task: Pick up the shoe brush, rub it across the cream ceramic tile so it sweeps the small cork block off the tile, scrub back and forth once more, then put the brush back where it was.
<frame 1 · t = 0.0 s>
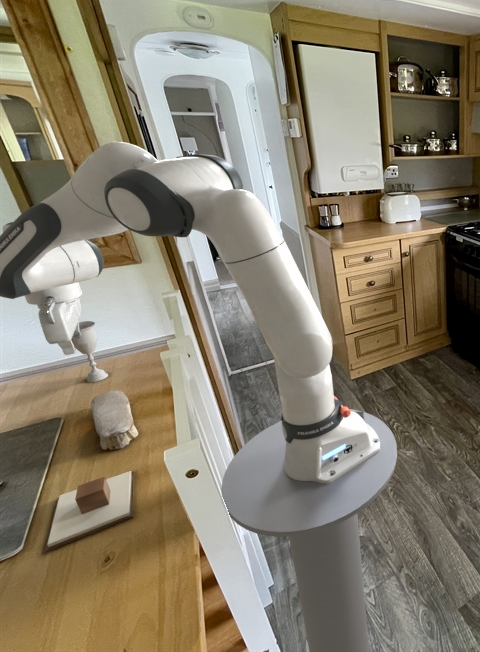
hand: (73, 345, 90), 24 cm above the table, tool pointing down, fingers open, 8 cm apart
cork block: (96, 502, 76), point 1 cm above the table, touching tile
tile: (95, 508, 76), on the table
chalice: (97, 378, 119), on the table
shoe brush: (117, 425, 99), on the table
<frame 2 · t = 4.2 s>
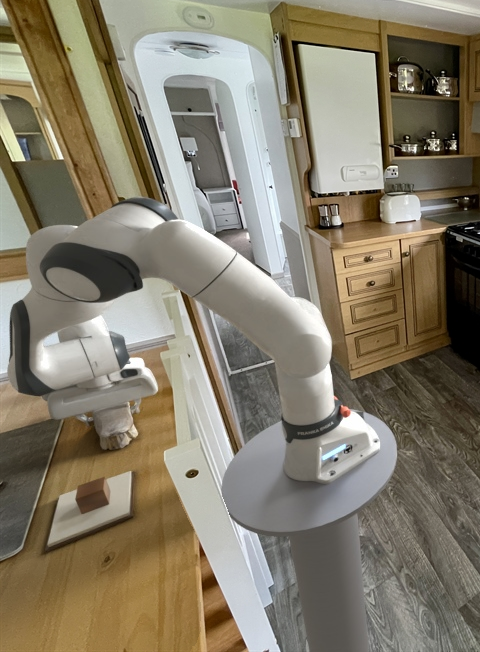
hand: (114, 418, 98), 2 cm above the table, tool pointing down, fingers closed on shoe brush, 7 cm apart
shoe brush: (117, 425, 99), on the table, touching gripper
everything else where it was.
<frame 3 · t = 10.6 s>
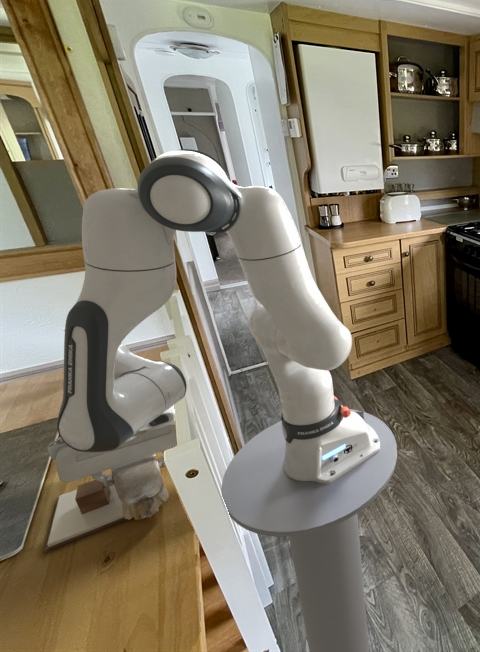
hand: (138, 474, 79), 4 cm above the table, tool pointing down, fingers closed on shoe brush, 7 cm apart
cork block: (96, 502, 76), point 1 cm above the table, touching gripper, tile
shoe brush: (141, 482, 80), point 2 cm above the table, touching gripper
everything else where it was.
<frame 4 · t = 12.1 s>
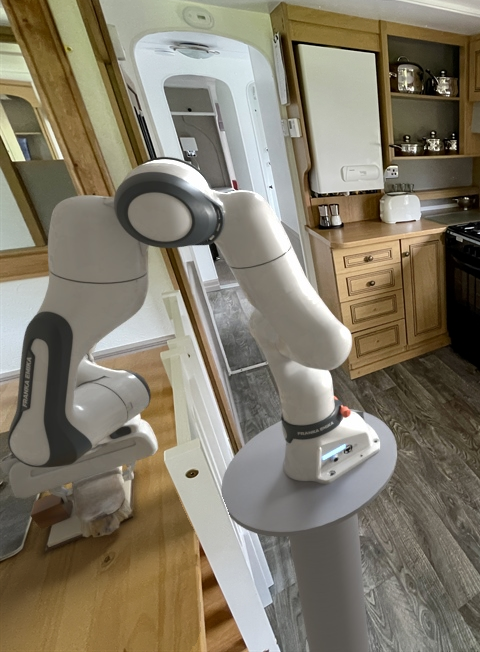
hand: (101, 488, 76), 4 cm above the table, tool pointing down, fingers closed on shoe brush, 7 cm apart
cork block: (57, 516, 73), point 1 cm above the table, tilted 6°, touching tile
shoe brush: (104, 496, 77), point 2 cm above the table, touching gripper
everything else where it was.
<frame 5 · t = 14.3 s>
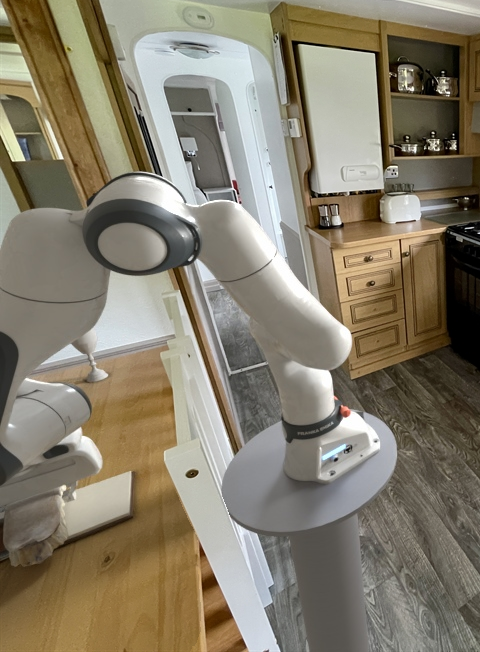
hand: (38, 510, 71), 4 cm above the table, tool pointing down, fingers closed on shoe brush, 7 cm apart
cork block: (14, 528, 69), point 2 cm above the table, tilted 95°, touching gripper, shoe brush
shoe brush: (43, 518, 71), point 2 cm above the table, touching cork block, gripper
everything else where it was.
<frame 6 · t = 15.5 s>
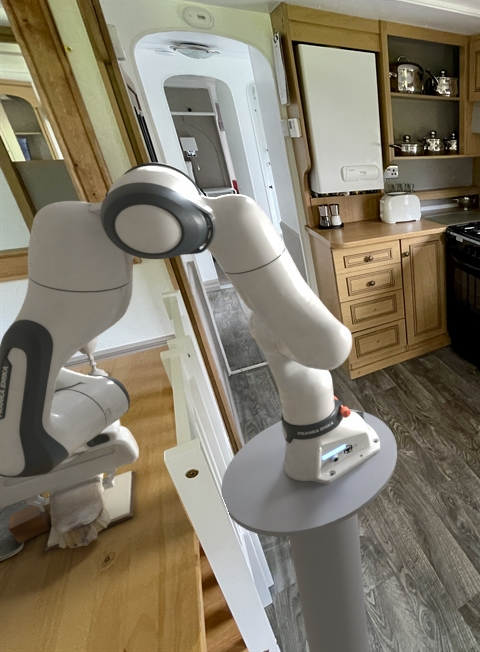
hand: (80, 497, 74), 4 cm above the table, tool pointing down, fingers closed on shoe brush, 7 cm apart
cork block: (35, 529, 71), on the table, touching gripper
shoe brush: (84, 504, 75), point 2 cm above the table, touching gripper
everything else where it was.
when the fingers open (2 cm above the table, at t = 24.9 s): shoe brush stays where it is, on the table.
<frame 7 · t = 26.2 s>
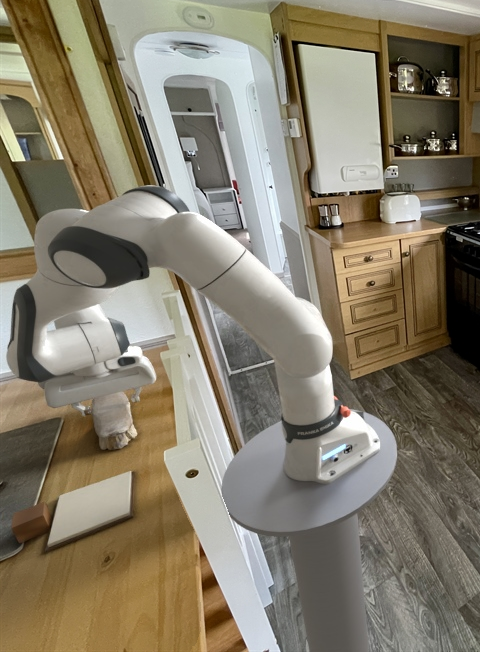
hand: (112, 407, 97), 5 cm above the table, tool pointing down, fingers open, 8 cm apart
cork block: (36, 529, 71), on the table
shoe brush: (116, 425, 99), on the table
everything else where it was.
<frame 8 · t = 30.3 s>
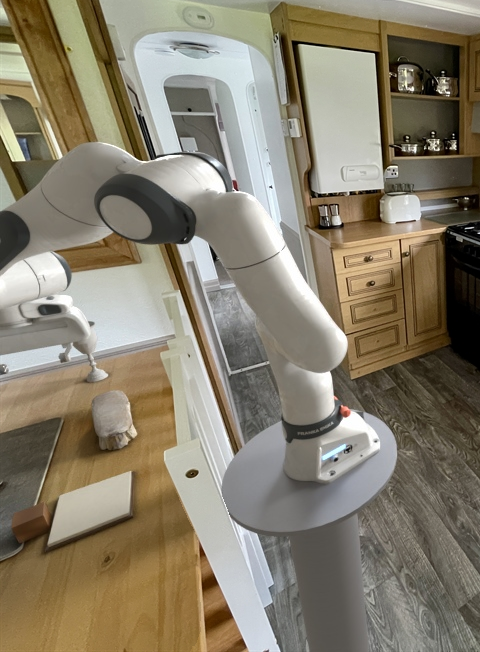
hand: (35, 367, 82), 23 cm above the table, tool pointing down, fingers open, 8 cm apart
nothing on the table moved.
at the end: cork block inside the target area on the table beside the tile (2.1 cm from its centre), on the table; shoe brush inside the target area (0.1 cm from its centre), on the table; the gripper is holding nothing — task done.
